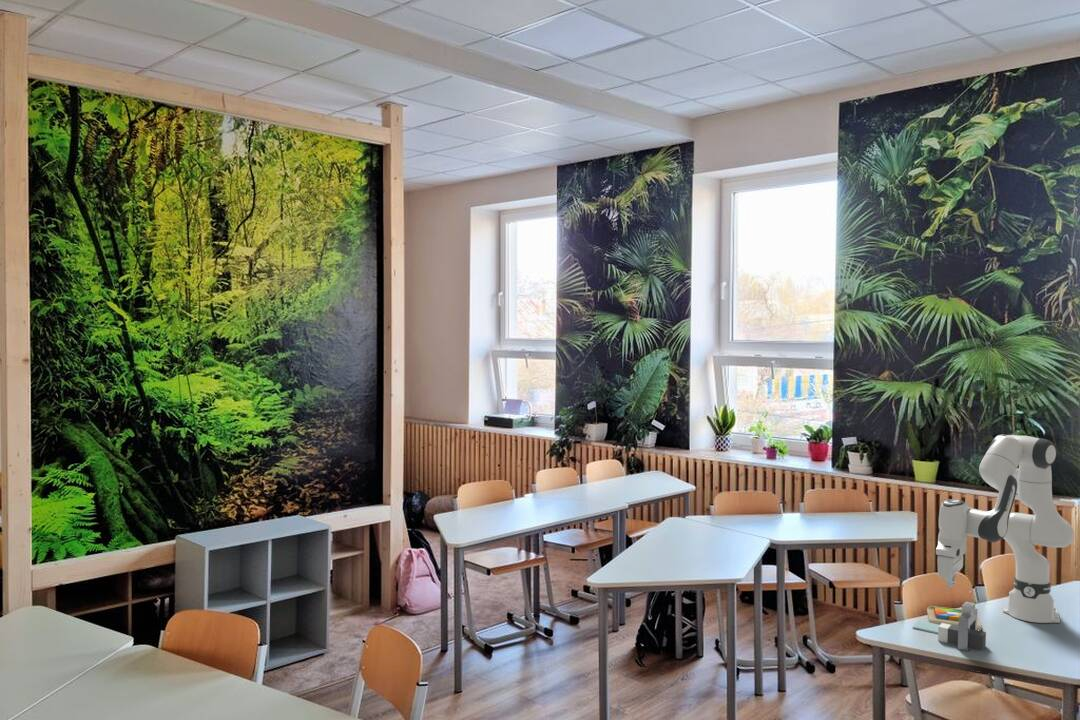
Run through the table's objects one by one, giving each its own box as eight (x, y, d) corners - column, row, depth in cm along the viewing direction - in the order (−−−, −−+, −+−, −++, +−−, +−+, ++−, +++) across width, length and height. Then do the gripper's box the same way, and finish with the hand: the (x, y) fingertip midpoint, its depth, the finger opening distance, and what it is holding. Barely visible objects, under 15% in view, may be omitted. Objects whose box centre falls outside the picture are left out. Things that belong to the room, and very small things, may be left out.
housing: (967, 638, 299) (968, 598, 298) (976, 640, 297) (977, 600, 296) (957, 649, 288) (958, 608, 287) (967, 651, 286) (968, 610, 286)
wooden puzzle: (976, 616, 324) (977, 607, 324) (982, 632, 306) (982, 623, 306) (926, 610, 330) (926, 601, 330) (929, 625, 313) (929, 616, 313)
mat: (919, 622, 315) (919, 620, 315) (972, 633, 304) (972, 631, 304) (912, 628, 308) (912, 626, 308) (967, 640, 297) (967, 638, 296)
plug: (941, 636, 300) (941, 622, 300) (985, 646, 291) (985, 632, 291) (938, 640, 296) (938, 626, 296) (982, 650, 287) (983, 636, 287)
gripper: (949, 539, 305) (948, 577, 305) (934, 550, 289) (933, 590, 289) (968, 542, 301) (967, 581, 302) (954, 553, 285) (953, 594, 286)
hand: (950, 586), depth 295 cm, fingers closed
